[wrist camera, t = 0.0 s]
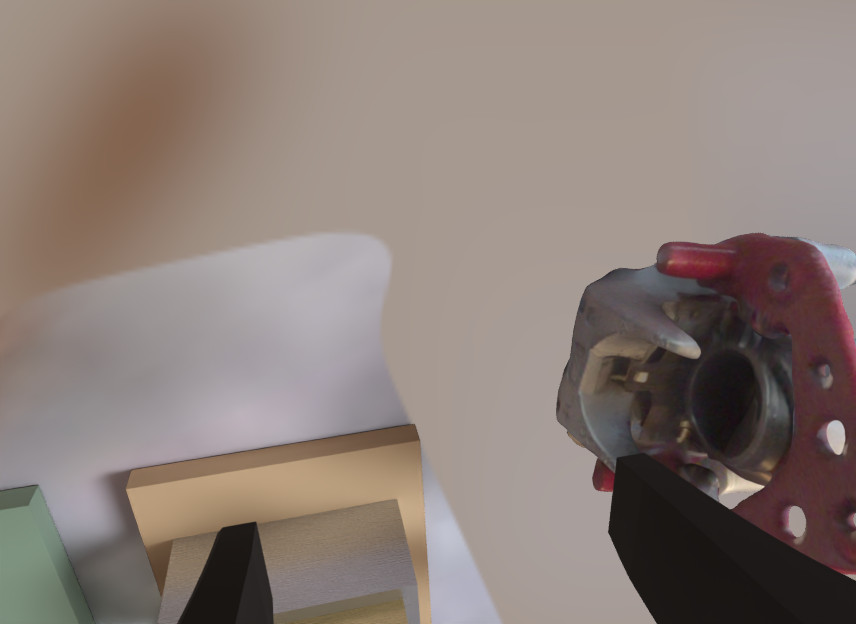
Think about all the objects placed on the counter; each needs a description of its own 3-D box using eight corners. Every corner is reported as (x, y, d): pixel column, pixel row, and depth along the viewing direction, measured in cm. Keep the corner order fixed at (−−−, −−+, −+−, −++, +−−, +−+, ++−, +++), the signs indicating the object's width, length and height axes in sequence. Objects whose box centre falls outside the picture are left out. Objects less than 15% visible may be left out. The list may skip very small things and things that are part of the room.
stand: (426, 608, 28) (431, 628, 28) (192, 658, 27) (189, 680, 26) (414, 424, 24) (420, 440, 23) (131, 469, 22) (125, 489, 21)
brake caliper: (547, 201, 19) (1101, 373, 12) (683, 169, 26) (1062, 261, 20) (483, 507, 23) (855, 752, 17) (616, 402, 31) (903, 539, 25)
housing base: (405, 592, 26) (424, 684, 23) (202, 633, 25) (189, 738, 21) (397, 498, 24) (417, 584, 20) (173, 538, 23) (154, 638, 19)
